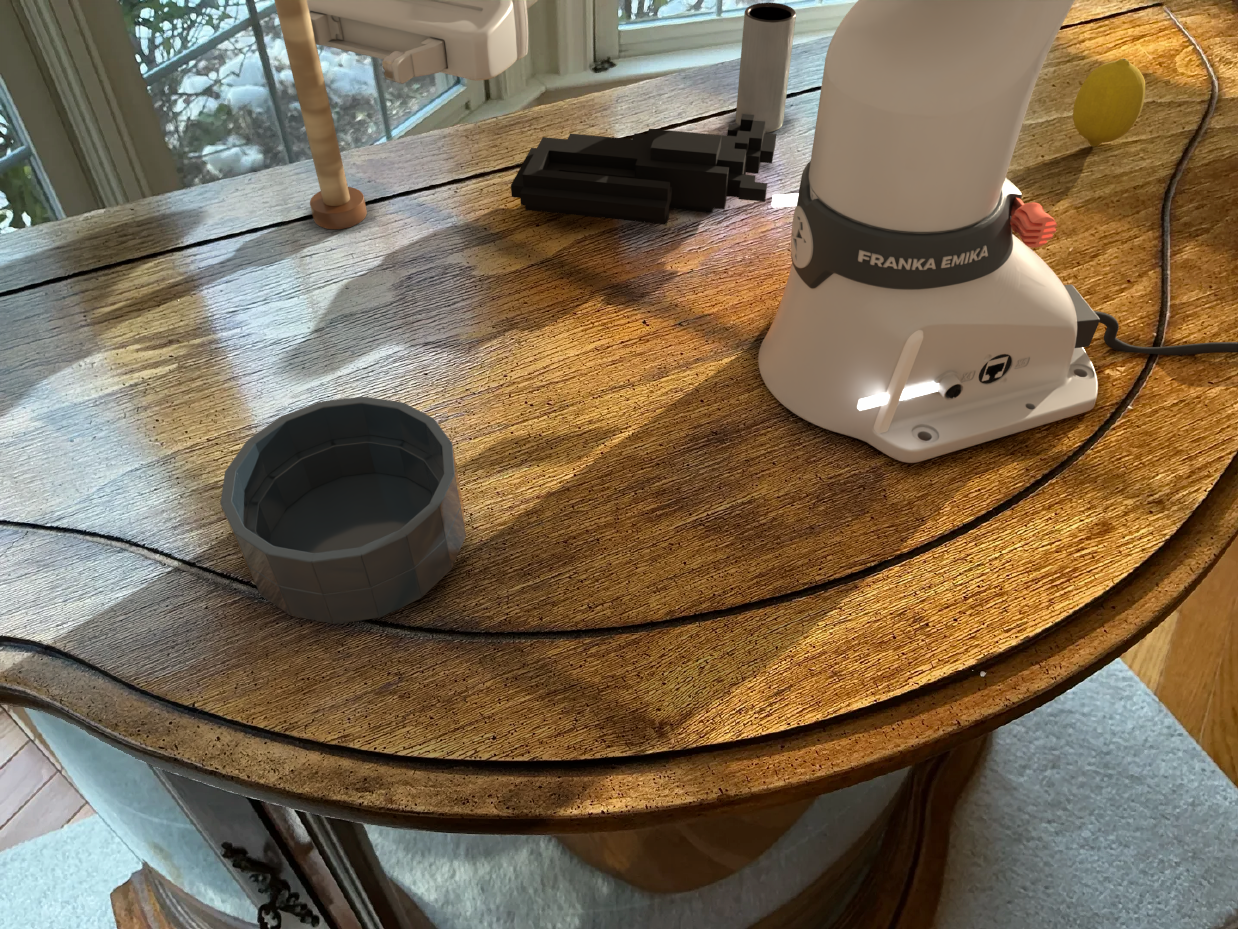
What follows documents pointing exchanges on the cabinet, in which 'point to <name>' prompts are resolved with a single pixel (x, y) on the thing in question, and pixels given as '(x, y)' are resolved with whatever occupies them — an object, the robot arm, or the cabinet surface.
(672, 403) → the cabinet surface
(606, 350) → the cabinet surface
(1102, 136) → the lemon
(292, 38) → the stirring stick
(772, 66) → the light grey tube
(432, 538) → the bowl
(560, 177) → the tool
